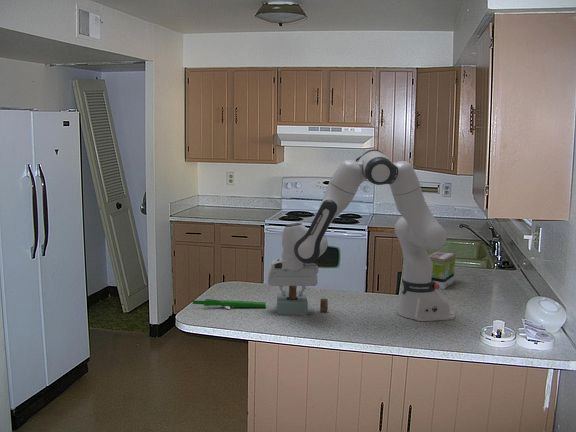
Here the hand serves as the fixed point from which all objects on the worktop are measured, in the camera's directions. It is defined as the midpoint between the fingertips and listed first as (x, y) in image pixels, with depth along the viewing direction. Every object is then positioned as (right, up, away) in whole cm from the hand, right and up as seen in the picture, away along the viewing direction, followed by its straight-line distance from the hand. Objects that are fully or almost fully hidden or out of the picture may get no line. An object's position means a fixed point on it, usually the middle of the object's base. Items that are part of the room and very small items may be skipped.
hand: (292, 296), depth 247 cm
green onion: (-26, -6, +3) cm, 27 cm away
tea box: (+71, -1, +43) cm, 83 cm away
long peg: (0, -6, +1) cm, 6 cm away
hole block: (0, -6, +1) cm, 6 cm away
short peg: (+13, -6, 0) cm, 14 cm away
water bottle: (-1, -3, +21) cm, 21 cm away
